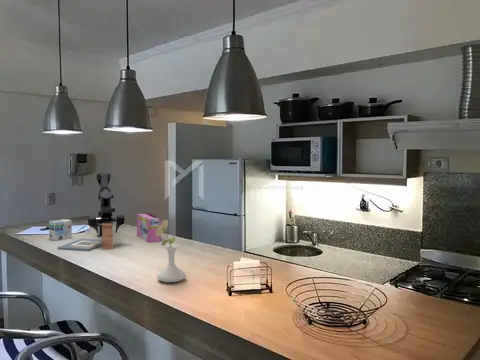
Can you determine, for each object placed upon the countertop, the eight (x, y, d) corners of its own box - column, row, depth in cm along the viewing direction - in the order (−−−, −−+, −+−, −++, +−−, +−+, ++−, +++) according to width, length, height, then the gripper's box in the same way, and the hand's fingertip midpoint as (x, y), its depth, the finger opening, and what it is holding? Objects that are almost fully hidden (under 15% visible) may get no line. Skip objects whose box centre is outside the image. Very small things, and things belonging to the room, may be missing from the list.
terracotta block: (102, 247, 215) (101, 223, 214) (111, 246, 216) (111, 222, 216) (102, 249, 210) (102, 224, 209) (112, 248, 212) (112, 224, 211)
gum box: (135, 234, 248) (135, 213, 247) (148, 233, 252) (148, 212, 251) (147, 242, 228) (147, 218, 227) (161, 241, 232) (161, 217, 231)
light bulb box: (54, 241, 228) (54, 222, 227) (48, 239, 232) (48, 221, 231) (72, 238, 236) (72, 220, 236) (66, 236, 240) (66, 218, 240)
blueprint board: (81, 240, 231) (81, 236, 231) (110, 241, 227) (110, 238, 227) (57, 249, 209) (57, 245, 209) (89, 251, 206) (89, 246, 206)
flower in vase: (172, 274, 169) (172, 215, 167) (191, 279, 162) (191, 218, 160) (147, 281, 159) (147, 219, 157) (166, 288, 152) (166, 222, 150)
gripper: (87, 201, 213) (88, 225, 204) (124, 200, 220) (126, 223, 211) (87, 213, 221) (88, 237, 212) (122, 212, 228) (125, 235, 218)
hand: (107, 233), depth 213 cm, fingers open, 9 cm apart
